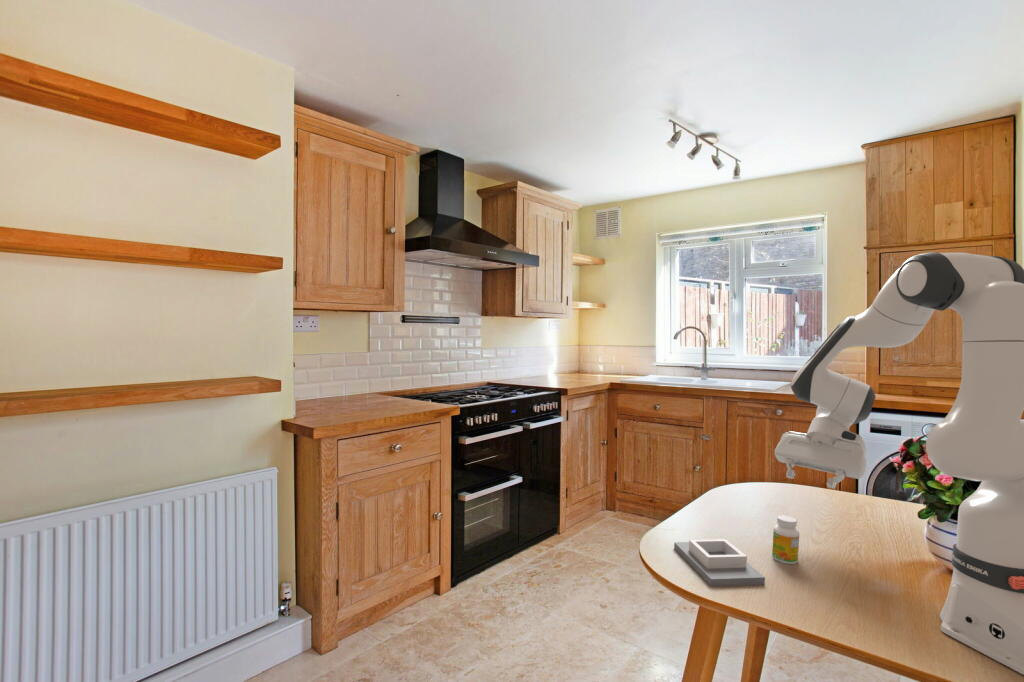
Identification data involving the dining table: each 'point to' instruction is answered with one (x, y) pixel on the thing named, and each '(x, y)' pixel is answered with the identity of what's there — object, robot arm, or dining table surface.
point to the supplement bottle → (785, 540)
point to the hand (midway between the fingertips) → (809, 481)
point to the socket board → (719, 562)
